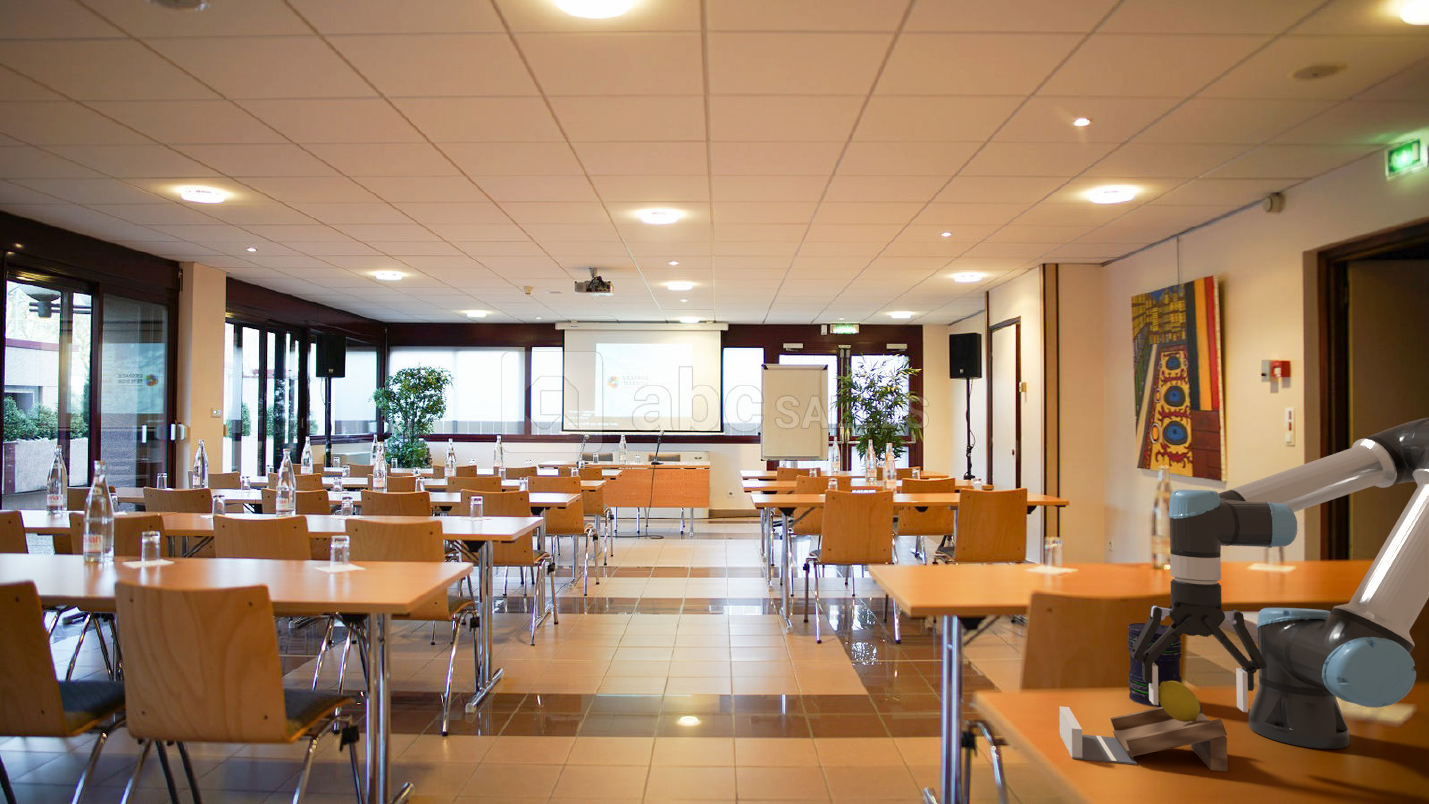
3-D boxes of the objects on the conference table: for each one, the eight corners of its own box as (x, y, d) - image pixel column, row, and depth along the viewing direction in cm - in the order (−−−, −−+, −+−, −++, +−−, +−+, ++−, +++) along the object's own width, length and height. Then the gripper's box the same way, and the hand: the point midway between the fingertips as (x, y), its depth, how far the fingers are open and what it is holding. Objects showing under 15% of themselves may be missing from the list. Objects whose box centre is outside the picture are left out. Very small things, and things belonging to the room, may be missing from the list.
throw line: (1100, 737, 147) (1100, 736, 147) (1116, 762, 135) (1116, 760, 135) (1095, 737, 147) (1095, 735, 147) (1111, 762, 136) (1111, 760, 136)
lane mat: (1119, 739, 146) (1119, 737, 146) (1137, 765, 135) (1137, 763, 135) (1059, 734, 149) (1059, 732, 149) (1072, 758, 137) (1072, 756, 137)
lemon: (1215, 716, 135) (1180, 677, 137) (1188, 736, 136) (1154, 697, 137) (1202, 705, 141) (1169, 668, 142) (1176, 725, 141) (1143, 687, 143)
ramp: (1204, 747, 143) (1203, 699, 143) (1229, 773, 132) (1228, 721, 132) (1110, 739, 146) (1109, 692, 147) (1126, 763, 135) (1126, 712, 136)
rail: (1069, 735, 148) (1068, 707, 149) (1082, 759, 137) (1082, 729, 137) (1059, 734, 149) (1059, 706, 149) (1072, 758, 137) (1071, 728, 137)
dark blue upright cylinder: (1163, 711, 163) (1162, 635, 163) (1118, 697, 171) (1117, 625, 172) (1192, 703, 168) (1191, 630, 168) (1147, 691, 176) (1146, 621, 177)
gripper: (1268, 580, 140) (1271, 705, 139) (1111, 573, 146) (1112, 693, 145) (1287, 587, 133) (1290, 720, 132) (1121, 579, 139) (1123, 706, 138)
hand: (1197, 706), depth 138 cm, fingers open, 13 cm apart
